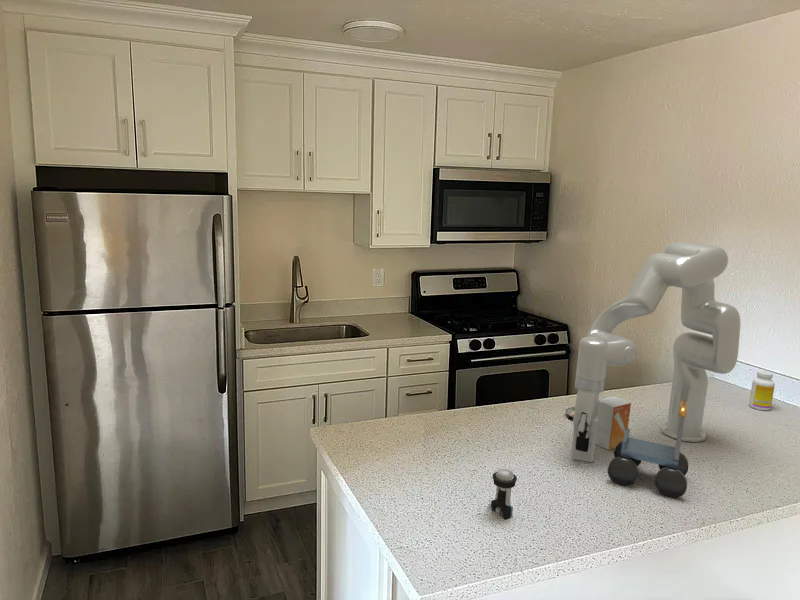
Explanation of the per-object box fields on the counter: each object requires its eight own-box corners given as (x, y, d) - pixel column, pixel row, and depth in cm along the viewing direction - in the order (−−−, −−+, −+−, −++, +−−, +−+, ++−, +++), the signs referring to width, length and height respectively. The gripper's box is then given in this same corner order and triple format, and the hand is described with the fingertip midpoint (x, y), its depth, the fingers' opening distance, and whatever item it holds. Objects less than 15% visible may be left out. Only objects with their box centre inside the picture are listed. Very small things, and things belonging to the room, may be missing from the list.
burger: (562, 421, 190) (564, 399, 188) (567, 409, 200) (569, 388, 199) (602, 428, 185) (604, 405, 184) (604, 415, 196) (607, 394, 194)
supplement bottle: (774, 411, 205) (780, 376, 203) (755, 410, 205) (761, 375, 203) (763, 404, 212) (769, 370, 209) (744, 403, 212) (750, 369, 209)
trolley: (613, 461, 162) (622, 386, 158) (686, 478, 154) (697, 399, 150) (606, 482, 150) (615, 401, 146) (684, 501, 142) (696, 417, 138)
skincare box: (594, 456, 164) (598, 415, 162) (593, 463, 160) (598, 421, 158) (571, 452, 166) (575, 412, 164) (570, 458, 162) (574, 417, 160)
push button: (480, 509, 135) (483, 468, 133) (496, 502, 138) (499, 462, 136) (502, 523, 130) (505, 480, 128) (518, 515, 133) (522, 474, 131)
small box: (608, 450, 169) (613, 407, 166) (590, 442, 174) (595, 400, 171) (626, 444, 173) (631, 402, 171) (608, 436, 178) (613, 395, 176)
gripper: (581, 372, 168) (575, 433, 172) (569, 389, 153) (562, 455, 157) (609, 377, 165) (602, 438, 168) (599, 395, 150) (592, 462, 154)
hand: (583, 446), depth 163 cm, fingers closed on skincare box, 4 cm apart
